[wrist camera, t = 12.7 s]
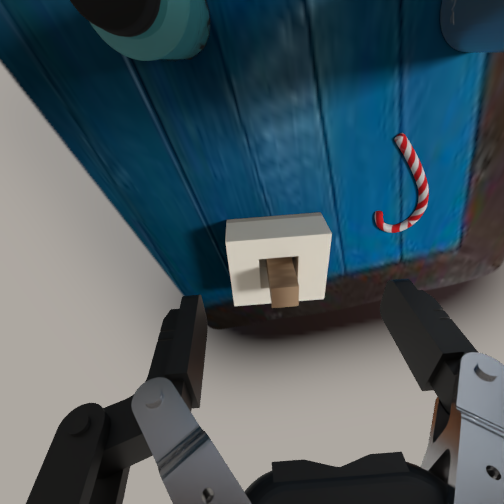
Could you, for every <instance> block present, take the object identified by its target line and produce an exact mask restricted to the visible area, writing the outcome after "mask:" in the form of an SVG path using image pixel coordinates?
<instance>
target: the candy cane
mask: <svg viewBox="0 0 504 504" xmlns="http://www.w3.org/2000/svg"><path fill="white" fill-rule="evenodd" d="M395 142H396V144H397V145H398V147H399V148H400V150H401V152H402V153H403V155H404V157H405V159H406V160H407V162H408V164H409V166H410V169H411V171H412V173H413V175H414V178H415V181H416V184H417V187H418V193H419V200H418V204H417V207H416V209H415V211H414V212H413V214H412V215H411V216H410V217H409V218H408V219H406V220H405V221H403V222H401V223H399V224H396V225H389V224H386V223H384V221H383V212H382V211H376V212H375V222H376V225H377V226H378V227H379V228H380V229H381V230H383V231H385V232H390V233H396V232H400V231H403V230H405V229H407V228H409V227H410V226H412V225H413V224H414V223H416V222H417V221H418V220H419V219H420V217H421V216H422V215H423V213H424V211H425V209H426V206H427V203H428V196H429V190H428V183H427V179H426V176H425V173H424V170H423V168H422V165H421V163H420V161H419V159H418V156H417V154H416V152H415V151H414V149H413V147H412V145H411V144H410V142H409V140H408V139H407V137H406V136H405V135H404V133H400V134H398V135H397V136H396V137H395Z"/></svg>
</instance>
